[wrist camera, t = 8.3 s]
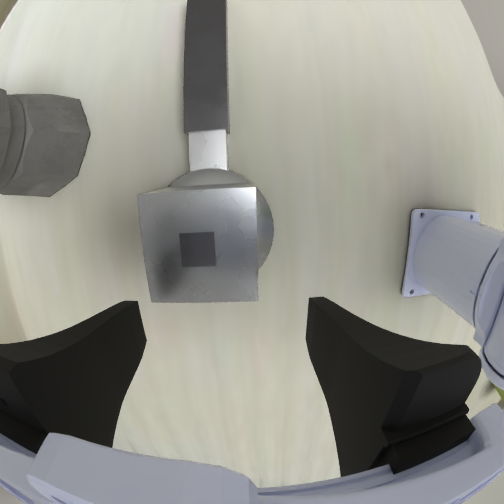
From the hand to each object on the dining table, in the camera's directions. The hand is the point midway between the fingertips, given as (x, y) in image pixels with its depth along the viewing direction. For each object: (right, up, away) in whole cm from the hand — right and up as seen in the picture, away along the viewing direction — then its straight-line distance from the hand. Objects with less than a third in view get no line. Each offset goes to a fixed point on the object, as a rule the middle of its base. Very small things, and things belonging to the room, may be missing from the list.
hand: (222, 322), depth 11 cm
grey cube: (-1, +4, +6) cm, 8 cm away
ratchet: (-2, +12, +7) cm, 14 cm away
